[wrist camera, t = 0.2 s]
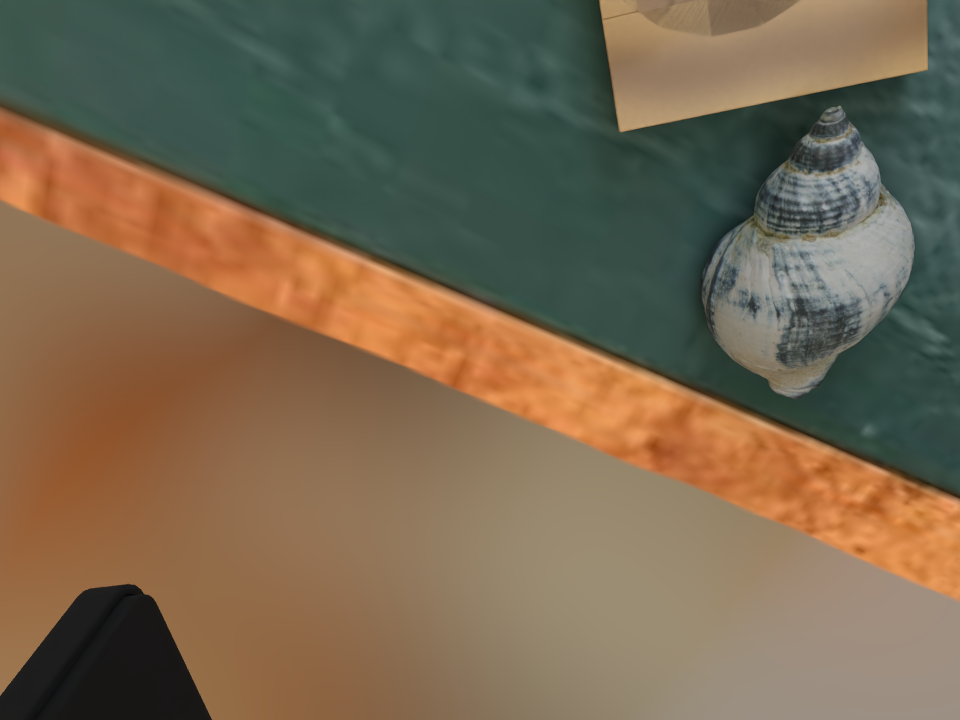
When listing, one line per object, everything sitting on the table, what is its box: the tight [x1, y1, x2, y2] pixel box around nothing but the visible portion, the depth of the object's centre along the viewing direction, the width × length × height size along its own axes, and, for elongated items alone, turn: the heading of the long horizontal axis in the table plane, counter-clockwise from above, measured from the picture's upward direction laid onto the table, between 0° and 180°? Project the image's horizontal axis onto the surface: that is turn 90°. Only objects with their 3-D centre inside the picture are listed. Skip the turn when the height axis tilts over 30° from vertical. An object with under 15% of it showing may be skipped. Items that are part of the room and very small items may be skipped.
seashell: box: [701, 106, 915, 399], centre depth 36 cm, size 6×8×12 cm
